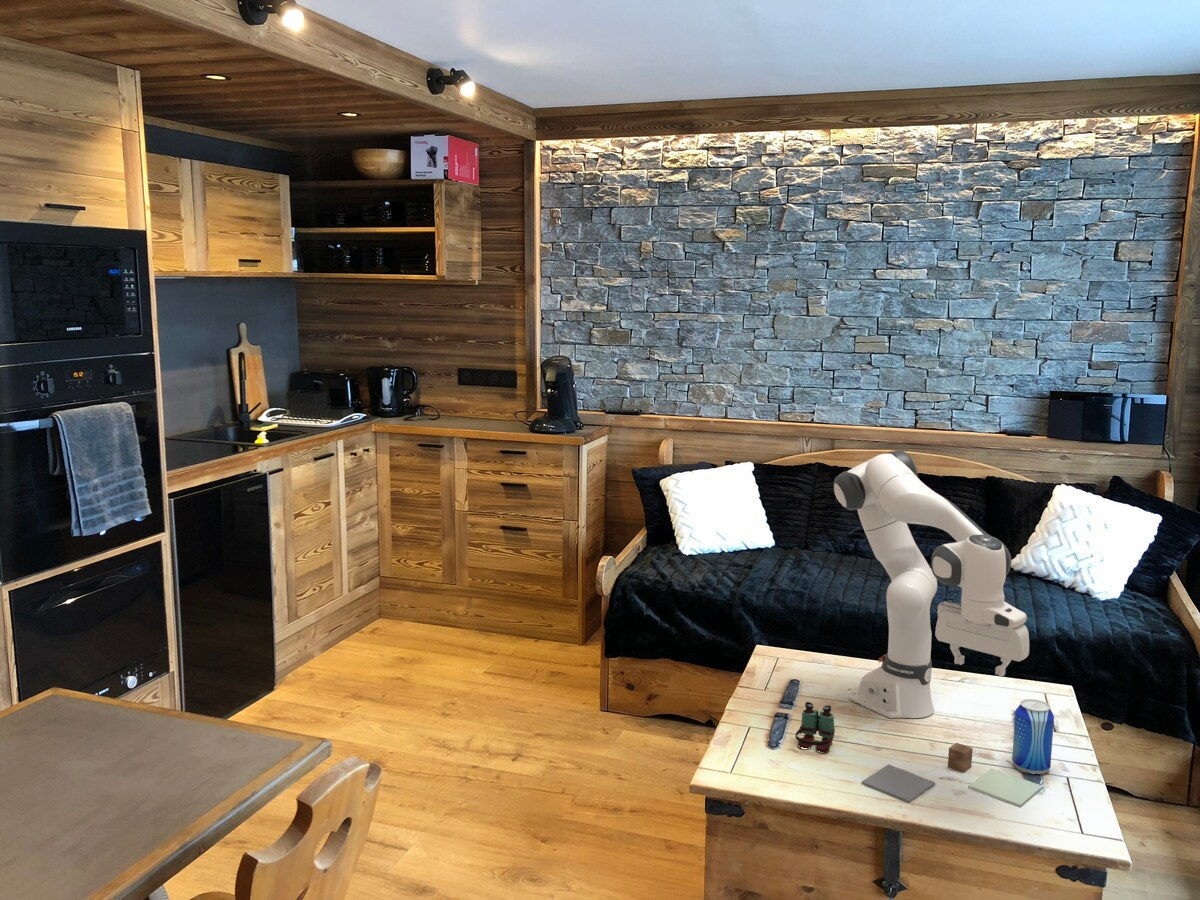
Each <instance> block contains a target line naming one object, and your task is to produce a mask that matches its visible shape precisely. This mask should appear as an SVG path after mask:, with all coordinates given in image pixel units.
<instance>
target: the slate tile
mask: <svg viewBox="0 0 1200 900" xmlns="http://www.w3.org/2000/svg"><path fill="white" fill-rule="evenodd" d="M863 784H864V786H865V785H866V787H868V788H871V789H873V790H876V791H878V792H881V793H883V794H886V795H888V796H891V797H892V798H896V799H898V800H900V801H903V802H905V803H908V804H910V803H912V802H913V801H915V800H916V799H917V798H919V797H920V796H921V795H922V794H924V793H926V792H927V791H928V790H929V789H931V788H932V787H934V786H935V785H936V781H934V780H930V779H928V778H925V777H923V776H920V775H917V774H915V773H913V772H909V771H907V770H904V769H902V768H899V767H896V766H894V765H891V764H887V765H885V766H884V767H882V768H880V769H879V770H877V771H876V772H875V773H873V774H871V775H869V776H868V777H867V778H864V779H863V780H862V781H861V785H863Z"/></svg>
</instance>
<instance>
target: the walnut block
mask: <svg viewBox="0 0 1200 900" xmlns="http://www.w3.org/2000/svg"><path fill="white" fill-rule="evenodd" d="M947 755H948V757H947V768H949V769H951V770H954V771H957V772H959V773H962V774H965V773H967V771H969V770H970V769H971V768H972V765H973V764H972V763H973V748H972V747H970V746H968V745H965V744H962V743H958V742H956V743H954V744H953V745H950V747H948V754H947Z"/></svg>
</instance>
